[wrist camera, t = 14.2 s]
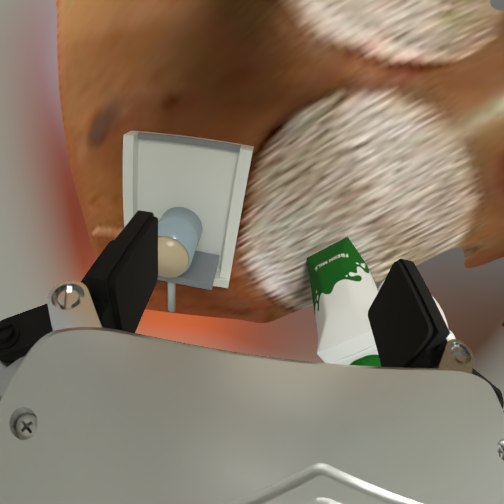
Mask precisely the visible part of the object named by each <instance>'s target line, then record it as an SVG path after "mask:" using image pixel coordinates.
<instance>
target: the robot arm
mask: <svg viewBox="0 0 504 504" xmlns="http://www.w3.org/2000/svg"><path fill="white" fill-rule="evenodd" d="M157 279H158V218H157V217H154V214H153V212H146V211H140V210H138V211H137V212H136V214H135V215H134V216H133V217H132V219H131V220H130V221H129V222H128V224H127V225H126V226H125V228H124V229H123V230H122V232H121V233H120V234H119V235H118V237H117V238H116V239H115V240H112V241H111V242H110V243H109V244H108V245H107V246H106V248H105V249H104V250H103V252H102V253H101V254H100V256H99V257H98V258H97V260H96V261H95V263H94V264H93V265H92V267H91V268H90V270H89V271H88V272H87V274H86V275H85V277H84V278H83V280H82V281H81V282H79V281H73V280H69V281H64V282H61V283H59V284H57V285H56V286H54V287H53V288H52V289H51V290H50V292H49V294H48V296H47V304H45V305H42V306H40V307H37V308H34V309H31V310H28V311H26V312H23V313H20V314H17V315H15V316H12V317H9V318H6V319H4V320H2V321H0V504H504V410H503V404H504V402H503V397H502V393H501V391H500V390H499V389H498V388H496V387H495V386H494V385H492V384H491V383H490V382H489V381H488V380H487V379H486V378H484V377H483V376H482V375H480V374H479V373H478V372H477V371H476V370H474V369H473V364H474V357H473V354H472V352H471V350H470V349H469V347H468V346H467V345H466V344H465V343H463V342H462V341H460V340H457V339H451V340H449V341H448V342H447V339H446V338H447V337H448V335H449V334H450V332H449V329H448V327H447V325H446V323H445V321H444V319H443V317H442V315H441V313H440V311H439V309H438V307H437V305H436V303H435V301H434V299H433V297H432V295H431V293H430V292H429V289H428V288H427V286H426V284H425V282H424V281H423V278H422V277H421V275H420V273H419V271H418V270H417V268H416V266H415V264H414V263H413V262H412V261H408V260H404V259H399V260H398V261H397V262H394V264H393V265H392V267H391V269H390V271H389V273H388V275H387V277H386V279H385V281H384V283H383V284H382V286H381V288H380V290H379V292H378V294H377V296H376V297H375V299H374V301H373V303H372V305H371V306H370V308H369V311H368V319H369V322H370V326H371V329H372V333H373V336H374V340H375V344H376V347H377V351H378V355H379V359H380V363H381V367H375V366H357V365H342V364H330V363H318V362H307V361H298V360H289V359H281V358H273V357H265V356H258V355H250V354H244V353H237V352H230V351H225V350H219V349H213V348H207V347H201V346H197V345H191V344H186V343H181V342H176V341H170V340H165V339H161V338H156V337H151V336H146V335H141V334H136V333H135V331H136V329H137V326H138V324H139V321H140V319H141V317H142V314H143V312H144V310H145V307H146V305H147V303H148V301H149V298H150V296H151V294H152V292H153V289H154V287H155V285H156V283H157Z"/></svg>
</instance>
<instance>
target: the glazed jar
mask: <svg viewBox="0 0 504 504" xmlns="http://www.w3.org/2000/svg"><path fill="white" fill-rule="evenodd" d="M202 231H203V228H202V223H201V220H200V219H199V217H198V216H197V215H196V214H195V213H194V212H193V211H191V210H189V209H187V208H183V207H174V208H171V209H168V210H167V211H166V212H165V213H164V214H163V215H162V217H161V218H160V220H159V221H158V275H159V276H162V277H166V278H174V277H178V276H180V275H181V274H183V273H184V272H186V271H187V270H188V268H189V267H190V265H191V262H192V259H193V256H194V254H195V251H196V248H197V246H198V243H199V240H200V237H201V235H202Z"/></svg>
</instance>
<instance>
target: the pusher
mask: <svg viewBox="0 0 504 504" xmlns="http://www.w3.org/2000/svg"><path fill="white" fill-rule="evenodd" d="M219 257H220V255H216V254H211V253H205V252H200V251H195V254H194V256H193V259H192V262H191V265H190V267H189V268H188V270H187V271H186V272H184V273H183V274H181V275H180V276H178V277H174V278H166V277H162V276H159V275H158V279H157V280H161V281H166V282H168V311H169V312H174V311H175V297H176V284H182V285H187V286H192V287H197V288H202V289H208V290H212V288H213V283H214V279H215V275H216V271H217V267H218V263H219Z"/></svg>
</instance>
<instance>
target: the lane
mask: <svg viewBox="0 0 504 504" xmlns="http://www.w3.org/2000/svg"><path fill="white" fill-rule="evenodd" d="M253 148H254V146H250V145H244V144H238V143H232V142H226V141H219V140H213V139H206V138H198V137H191V136H183V135H174V134H165V133H155V132H144V131H129V132H127V133H125V134H124V135H123V212H124V228H125V226H126V225H127V224H128V222H129V221H130V220H131V219H132V217H133V216H134V215H135V214H136V212H137V211H138V210H140V211H146V212H153V214H154V217H157V218H158V221H159V220H160V218H161V217H162V215H163V214H164V213H165V212H166V211H167V210H168V209H171V208H174V207H183V208H187V209H189V210H191V211H193V212H194V213H195V214H196V215H197V216H198V217H199V219H200V220H201V223H202V228H203V231H202V235H201V237H200V240H199V243H198V246H197V248H196V251H200V252H205V253H211V254H216V255H220V257H219V263H218V267H217V271H216V275H215V279H214V283H213V286H217V287H223V288H228V286H229V280H230V275H231V269H232V263H233V257H234V252H235V246H236V240H237V235H238V229H239V223H240V218H241V212H242V207H243V201H244V196H245V190H246V185H247V180H248V174H249V169H250V164H251V158H252V153H253Z"/></svg>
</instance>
